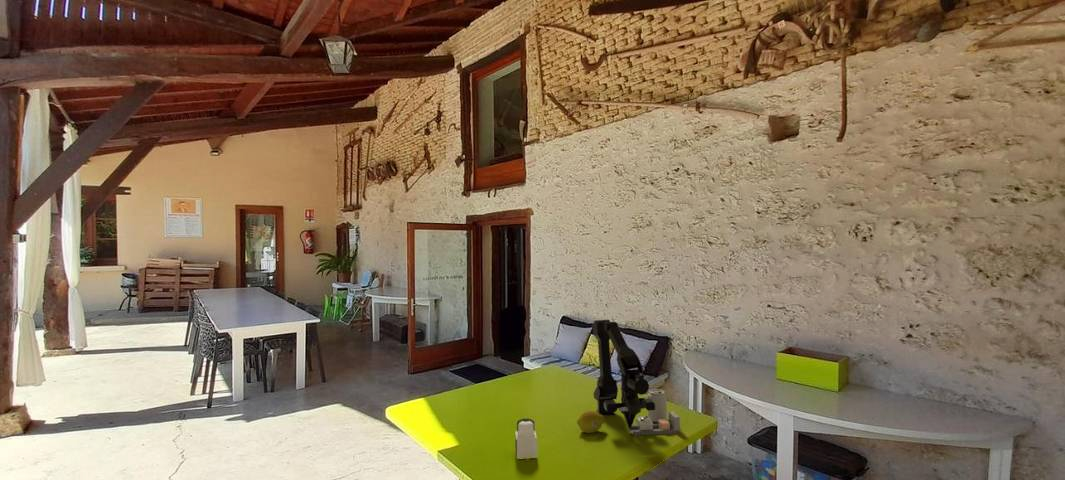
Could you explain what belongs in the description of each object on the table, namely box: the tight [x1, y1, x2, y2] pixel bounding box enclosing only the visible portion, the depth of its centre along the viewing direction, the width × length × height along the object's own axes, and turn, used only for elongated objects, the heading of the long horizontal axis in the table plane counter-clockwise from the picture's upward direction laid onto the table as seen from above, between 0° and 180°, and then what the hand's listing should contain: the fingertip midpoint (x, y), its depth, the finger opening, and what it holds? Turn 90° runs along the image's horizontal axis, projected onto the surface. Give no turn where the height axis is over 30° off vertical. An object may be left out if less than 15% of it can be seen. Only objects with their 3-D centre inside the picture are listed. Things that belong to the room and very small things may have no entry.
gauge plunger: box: [635, 415, 654, 431], centre depth 182 cm, size 5×4×5 cm
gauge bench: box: [628, 410, 681, 436], centre depth 183 cm, size 18×6×6 cm, turn 94°
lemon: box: [576, 410, 605, 434], centre depth 183 cm, size 11×8×8 cm
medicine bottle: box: [514, 418, 538, 459], centre depth 164 cm, size 7×7×12 cm
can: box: [647, 388, 668, 424], centre depth 194 cm, size 8×8×12 cm
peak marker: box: [657, 419, 670, 430], centre depth 183 cm, size 3×4×4 cm
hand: (629, 427), depth 182 cm, fingers closed
